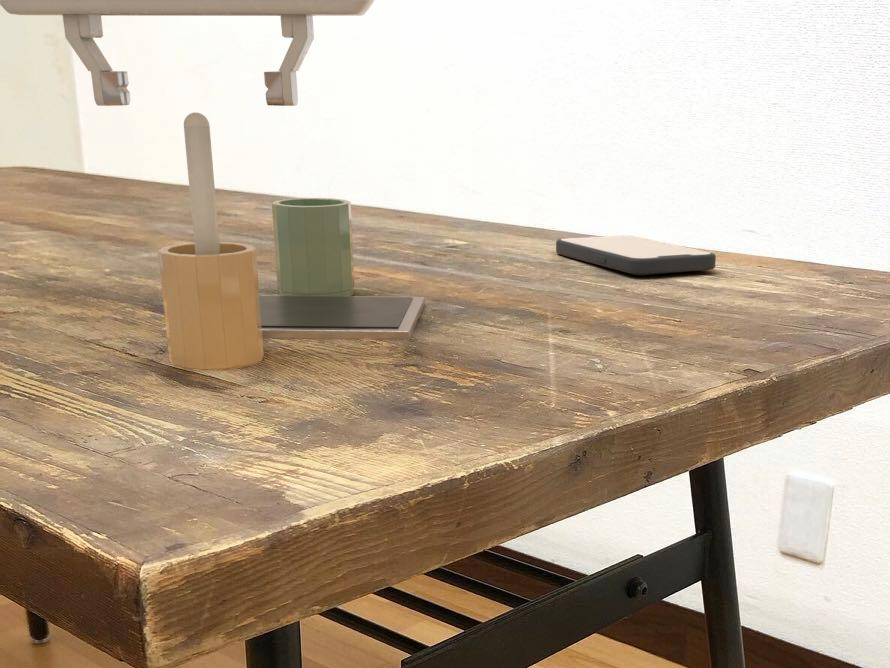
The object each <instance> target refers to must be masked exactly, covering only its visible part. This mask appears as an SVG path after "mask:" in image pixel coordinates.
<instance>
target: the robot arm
mask: <svg viewBox="0 0 890 668" xmlns="http://www.w3.org/2000/svg"><path fill="white" fill-rule="evenodd" d="M375 1H376V0H0V7H2V9H3V10H4V11H5V12H6V13H8V14H10V15H16V16H62V20H63V29H64V36H65V39H66V41H67V42H68V43H69V45H70V46H71V48H72V49H73V51H74V52H75V54H76V55H77V57H78V58H79V59H80V61H81V63H82V64H83V65H84V67H85V68H86V70H87V71H88V72H90V76H91V81H92V90H93V97H94V102H95V104H96V106H100V107H107V106H109V107H110V106H113V107H114V106H119V107H120V106H129V105H130V103H131V92H130V91H129V89H128V86H129V83H130V82H129V75H128V74H129V73H128V71H126V70H125V71H124V70H118V71H117V70H113V68H112V66H111V65H110V63H109V62H108V60H107V59H106V57H105V55H104V54H103V52H102V50H101V49H100V47H99V46H98V44H97V43H96V40H95V39H101V38H103V37H104V30H103V23H102V16H125V17H127V16H128V17H129V16H139V17H140V16H143V17H145V16H146V17H147V16H149V17H150V16H151V17H152V16H157V17H158V16H159V17H161V16H165V17H166V16H168V17H169V16H173V17H174V16H179V17H180V16H181V17H186V16H189V17H191V16H193V17H195V16H201V17H202V16H205V17H207V16H209V17H210V16H211V17H212V16H217V17H219V16H223V17H225V16H226V17H227V16H228V17H231V16H235V17H236V16H237V17H242V16H243V17H246V16H247V17H249V16H250V17H251V16H252V17H255V16H256V17H258V16H259V17H261V16H262V17H263V16H264V17H267V16H268V17H269V16H270V17H271V16H272V17H273V16H275V17H276V16H277V17H279V16H280V28H281V36H282V37H283V38H285V39H292V40H291V42H290V44H289V47H288V48H287V51H286V53H285V56H284V58H283V60H282V62H281V65H280V67H279V69H278V71H274V70H273V71H264V72H263V77H264V78H263V79H264V85H265V87H266V88H267V90H266V92H265V101H266V105H267V106H275V107H278V106H279V107H286V106H287V107H294V106H298V102H299V95H298V81H297V80H298V78H297V72H299V71H300V68H301V66H302V64H303V62H304V60H305V59H306V56H307V54H308V52H309V50H310V48H311V46H312V43H313V41H314V40H315V31H314V17H318V16H319V17H332V16H333V17H353V16H354V17H361V16H364V15H365V14H367V12H368V11H369V10H370V8H371V7H372V6H373V4H374V2H375Z"/></svg>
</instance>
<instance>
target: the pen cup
mask: <svg viewBox="0 0 890 668" xmlns="http://www.w3.org/2000/svg"><path fill="white" fill-rule="evenodd" d="M271 213H272V224H273V241H274V257H275V271H276V286H277V289H278V295H283V296H354V294H355V272H354V270H355V269H354V248H353V246H354V245H353V225H352V224H353V223H352V222H353V221H352V204H351V201H349V200H348V199H341V198H330V197H298V198H297V197H296V198H284V199H278V200H275V201H273V202H271Z"/></svg>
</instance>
